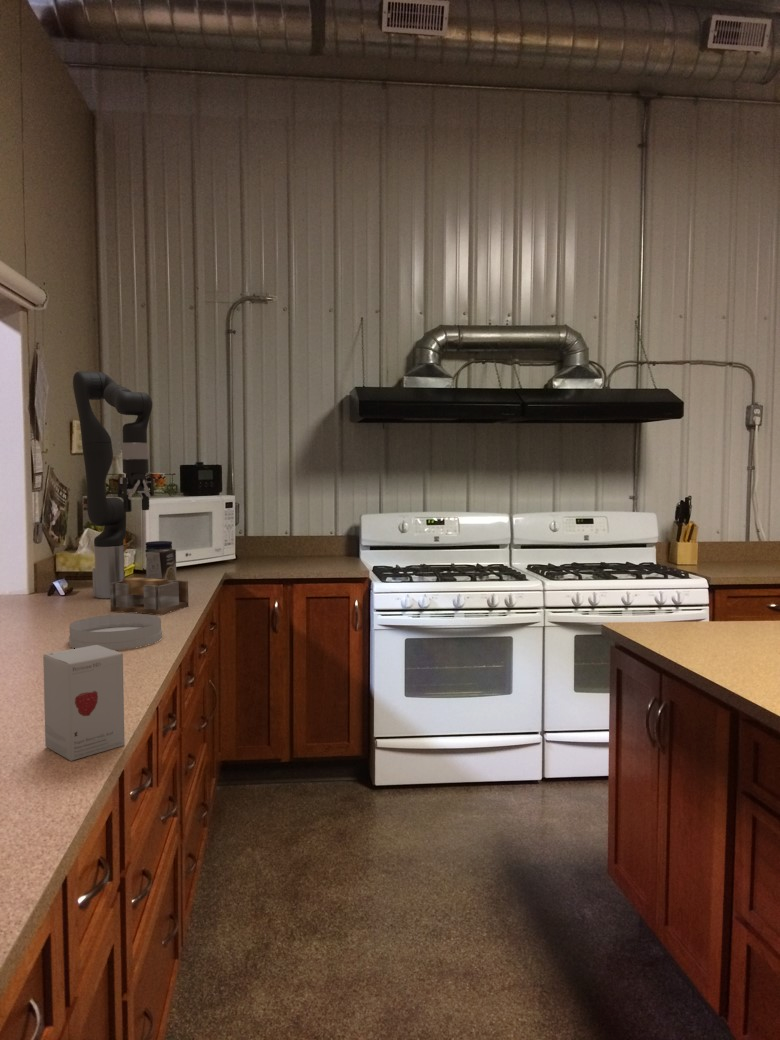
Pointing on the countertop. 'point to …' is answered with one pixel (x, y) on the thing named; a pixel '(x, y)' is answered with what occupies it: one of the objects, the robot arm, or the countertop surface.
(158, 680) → the countertop surface
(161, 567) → the coffee box
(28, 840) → the countertop surface
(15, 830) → the countertop surface
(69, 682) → the supplement box
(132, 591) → the rail
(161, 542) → the storage jar
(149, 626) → the dish
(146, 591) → the bracket board
